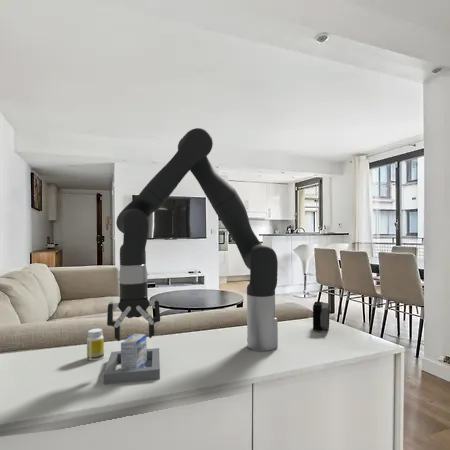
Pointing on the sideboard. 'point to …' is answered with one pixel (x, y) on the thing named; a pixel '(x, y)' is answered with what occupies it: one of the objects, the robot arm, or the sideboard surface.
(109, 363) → the block
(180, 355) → the sideboard surface
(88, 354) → the supplement bottle
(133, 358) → the medicine box
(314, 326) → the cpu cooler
